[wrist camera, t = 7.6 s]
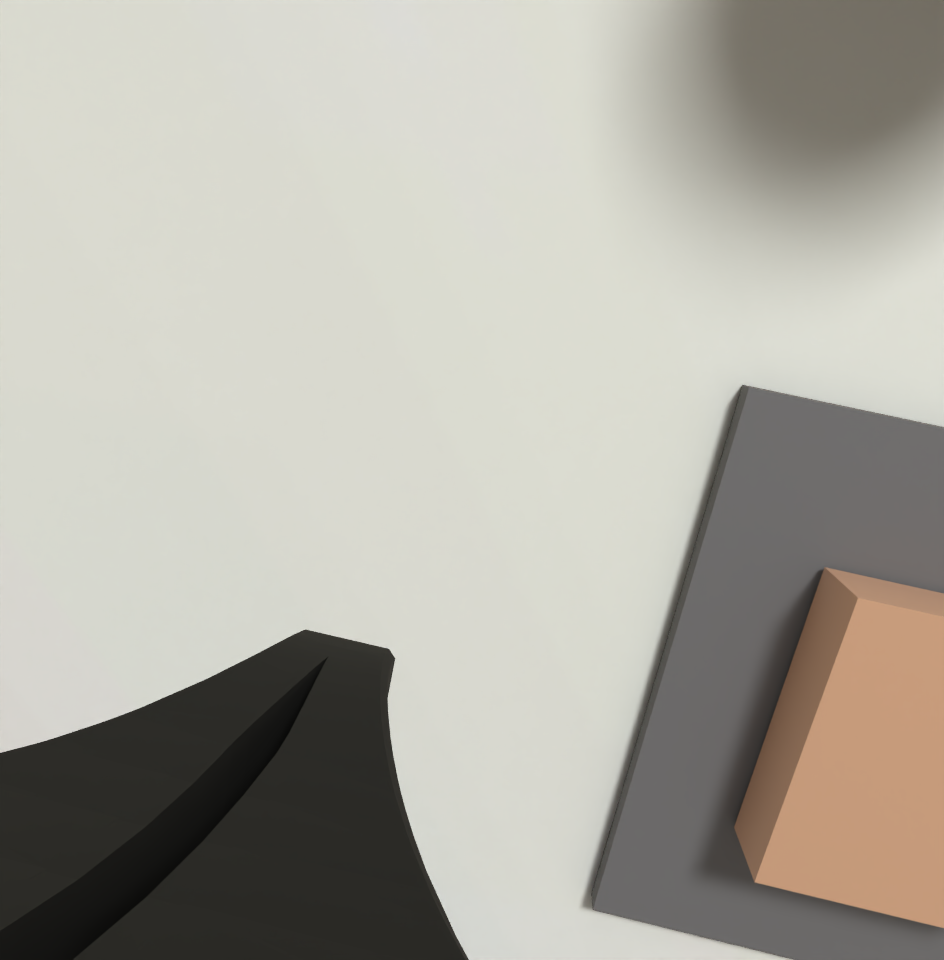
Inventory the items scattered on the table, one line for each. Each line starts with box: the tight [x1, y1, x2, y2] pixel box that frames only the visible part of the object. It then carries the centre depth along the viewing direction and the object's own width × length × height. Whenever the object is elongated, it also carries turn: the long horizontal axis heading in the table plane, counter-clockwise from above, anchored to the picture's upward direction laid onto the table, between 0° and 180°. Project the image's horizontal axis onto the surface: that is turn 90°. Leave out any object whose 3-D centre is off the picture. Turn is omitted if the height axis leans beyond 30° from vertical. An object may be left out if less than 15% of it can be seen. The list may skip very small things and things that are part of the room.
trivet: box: [592, 385, 944, 960], centre depth 19 cm, size 16×15×1 cm
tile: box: [734, 567, 944, 928], centre depth 18 cm, size 8×2×7 cm
